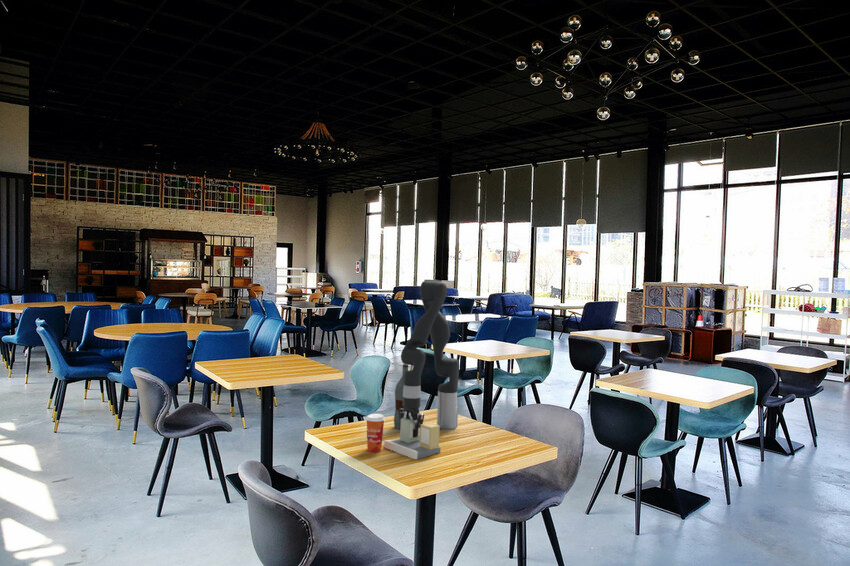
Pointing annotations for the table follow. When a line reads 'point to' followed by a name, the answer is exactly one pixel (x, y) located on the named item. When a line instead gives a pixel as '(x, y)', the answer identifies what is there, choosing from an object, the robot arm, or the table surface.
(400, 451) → the display board
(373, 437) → the paper cup
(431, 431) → the mustard box
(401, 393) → the bottle
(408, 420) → the tea box
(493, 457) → the table surface
